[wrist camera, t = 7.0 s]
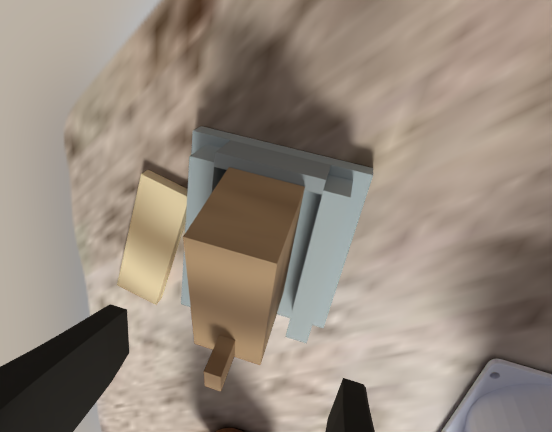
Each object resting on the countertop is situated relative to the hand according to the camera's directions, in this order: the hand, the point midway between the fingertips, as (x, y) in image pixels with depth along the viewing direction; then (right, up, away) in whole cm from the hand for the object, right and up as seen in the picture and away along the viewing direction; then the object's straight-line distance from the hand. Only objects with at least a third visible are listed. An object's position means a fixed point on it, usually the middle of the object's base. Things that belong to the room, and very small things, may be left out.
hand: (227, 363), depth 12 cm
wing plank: (-6, +3, +12) cm, 14 cm away
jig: (+1, +4, +9) cm, 10 cm away
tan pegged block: (+1, +4, +7) cm, 8 cm away
